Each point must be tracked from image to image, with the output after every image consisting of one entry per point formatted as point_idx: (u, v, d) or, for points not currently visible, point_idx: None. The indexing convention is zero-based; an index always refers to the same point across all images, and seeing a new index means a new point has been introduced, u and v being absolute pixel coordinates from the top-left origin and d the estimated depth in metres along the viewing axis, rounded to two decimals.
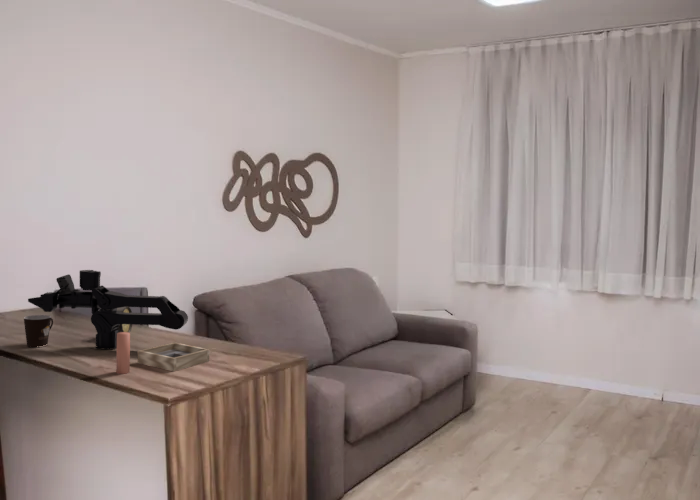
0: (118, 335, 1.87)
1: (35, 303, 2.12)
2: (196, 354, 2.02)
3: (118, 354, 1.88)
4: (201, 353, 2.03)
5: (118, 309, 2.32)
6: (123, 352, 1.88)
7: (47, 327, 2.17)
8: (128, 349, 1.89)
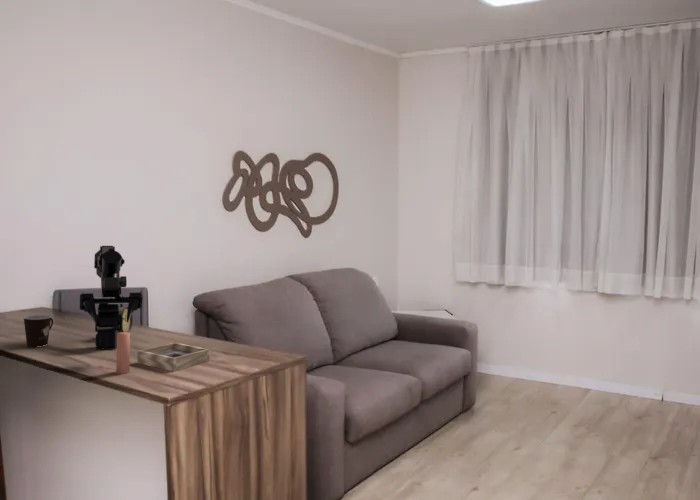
0: (118, 335, 1.87)
1: (130, 315, 2.00)
2: (196, 354, 2.02)
3: (118, 354, 1.88)
4: (201, 353, 2.03)
5: None
6: (123, 352, 1.88)
7: (47, 327, 2.17)
8: (128, 349, 1.89)
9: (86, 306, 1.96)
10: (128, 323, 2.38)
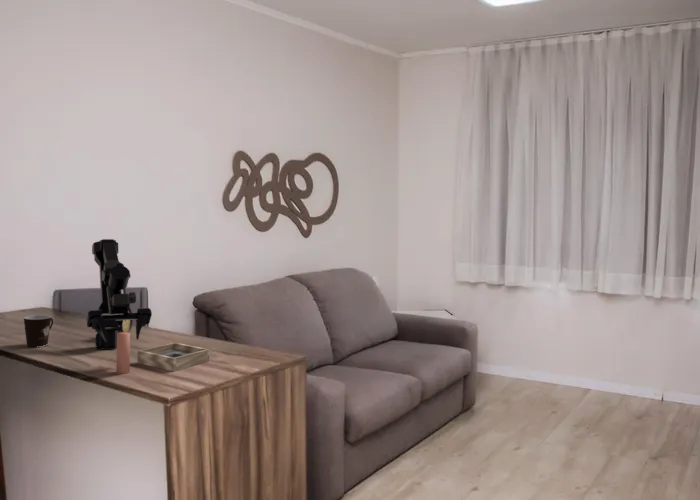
0: (118, 335, 1.87)
1: None
2: (196, 354, 2.02)
3: (118, 354, 1.88)
4: (201, 353, 2.03)
5: None
6: (123, 352, 1.88)
7: (47, 327, 2.17)
8: (128, 349, 1.89)
9: (94, 323, 1.91)
10: (128, 323, 2.38)
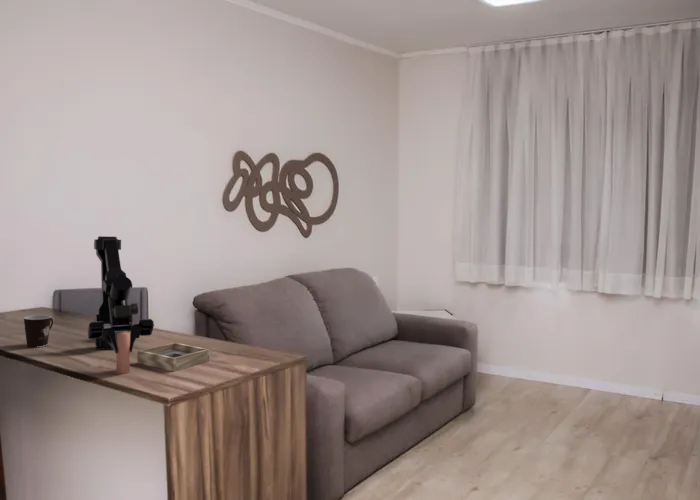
0: (118, 335, 1.87)
1: None
2: (196, 354, 2.02)
3: (118, 354, 1.88)
4: (201, 353, 2.03)
5: None
6: (123, 352, 1.88)
7: (47, 327, 2.17)
8: (128, 349, 1.89)
9: (105, 335, 1.89)
10: None
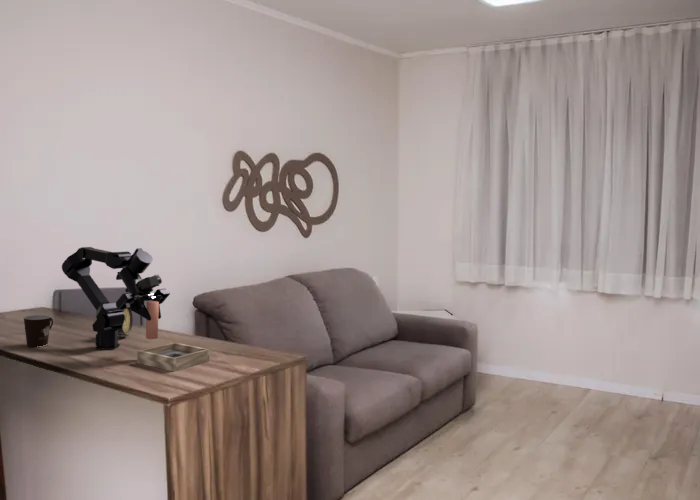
0: (151, 304, 2.05)
1: None
2: (196, 354, 2.02)
3: (151, 321, 2.05)
4: (201, 353, 2.03)
5: None
6: (155, 319, 2.06)
7: (47, 327, 2.17)
8: None
9: (134, 305, 2.04)
10: (128, 323, 2.38)
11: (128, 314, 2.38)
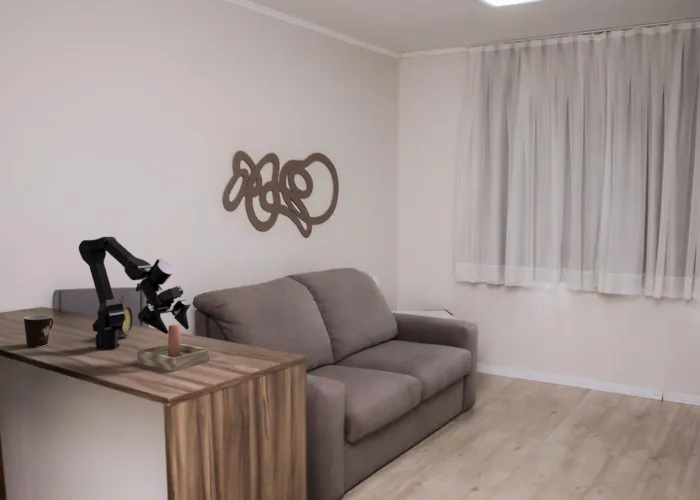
0: (173, 328, 2.01)
1: None
2: (196, 354, 2.02)
3: (173, 345, 2.02)
4: (201, 353, 2.03)
5: None
6: (177, 343, 2.02)
7: (47, 327, 2.17)
8: None
9: (150, 318, 1.98)
10: (128, 323, 2.38)
11: (128, 314, 2.38)
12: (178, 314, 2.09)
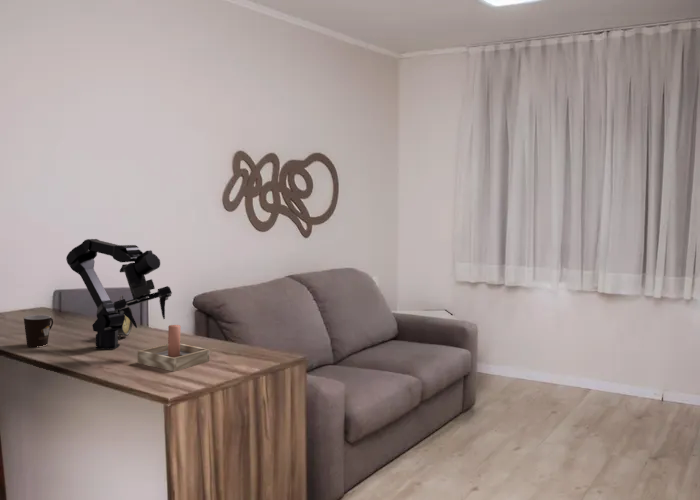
0: (173, 328, 2.01)
1: None
2: (196, 354, 2.02)
3: (173, 345, 2.02)
4: (201, 353, 2.03)
5: None
6: (177, 343, 2.02)
7: (47, 327, 2.17)
8: None
9: (122, 312, 2.07)
10: (128, 323, 2.38)
11: None
12: (159, 301, 2.12)
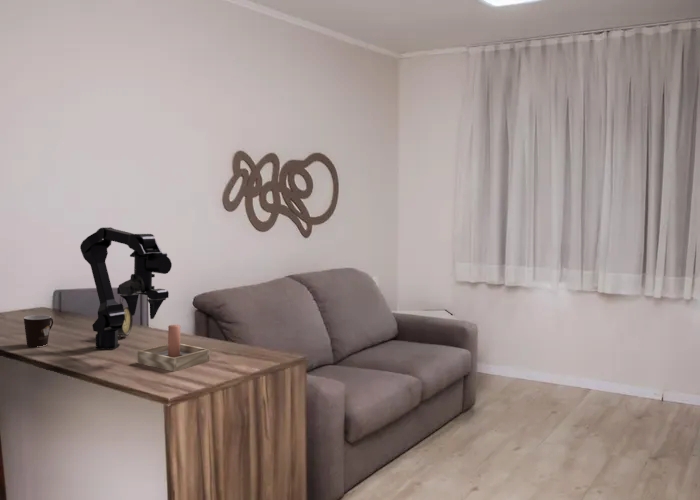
0: (173, 328, 2.01)
1: (156, 310, 2.08)
2: (196, 354, 2.02)
3: (173, 345, 2.02)
4: (201, 353, 2.03)
5: None
6: (177, 343, 2.02)
7: (47, 327, 2.17)
8: None
9: None
10: (128, 323, 2.38)
11: (128, 314, 2.38)
12: None
